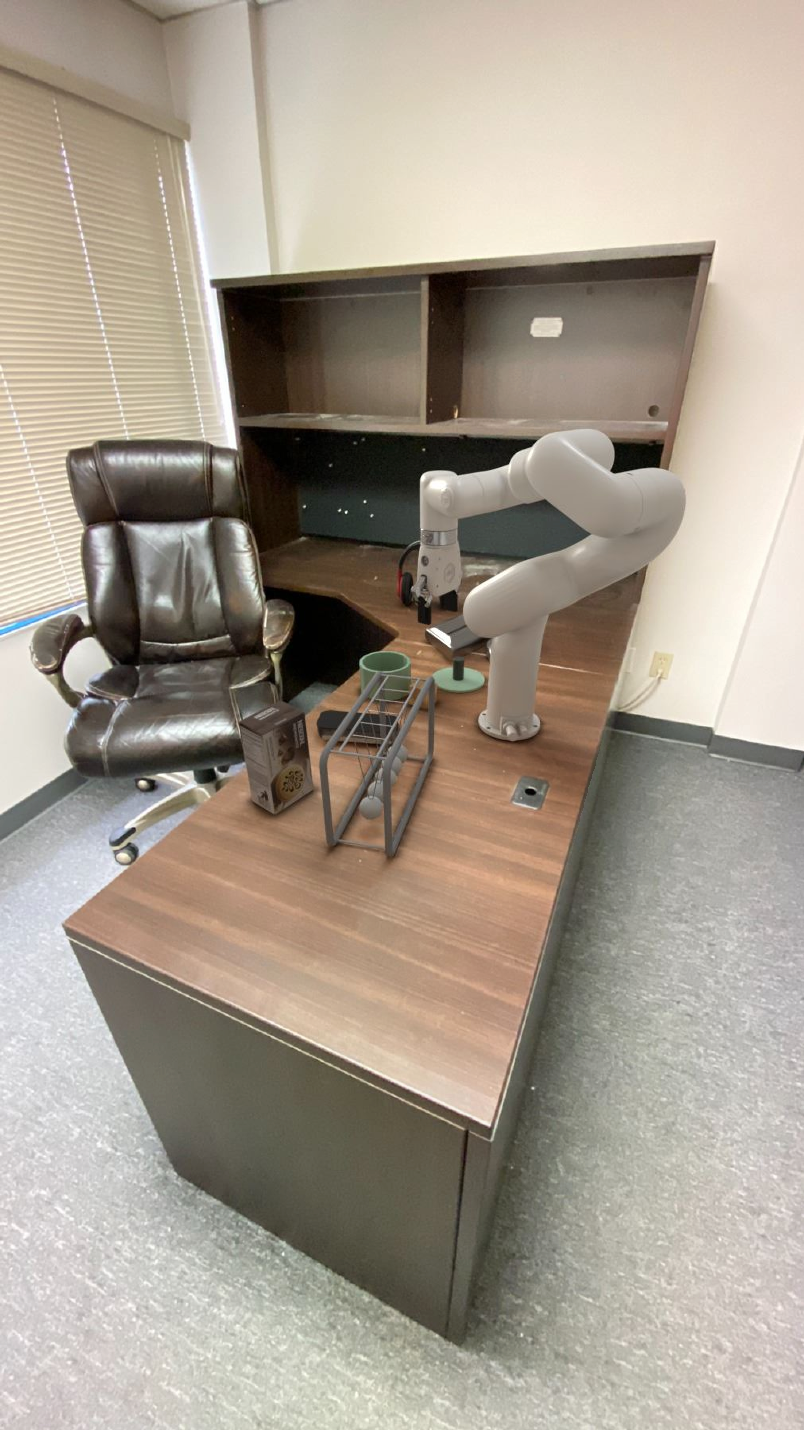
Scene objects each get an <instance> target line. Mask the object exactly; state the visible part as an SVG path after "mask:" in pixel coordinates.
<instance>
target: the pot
mask: <svg viewBox="0 0 804 1430" xmlns="http://www.w3.org/2000/svg"><path fill="white" fill-rule="evenodd" d="M377 671H382V672H383V674H386V675H395V676H404V677H412V662H411V658H410V656H408V655H407V654H406V653H405V654H404V653H402V652H399V651H391V650H379V651H374V652H370V653H368V654H365V655H363V656H362V657H361V658H360V659H359V679H360V681H359V683H360V695H361V694H362V692H363V691H364V689H365V688H366V687H367V685H368V684H369V682H370V681H371V679H372V678H373V676H374V675H375V673H376V672H377ZM384 678H386V677H384ZM411 684H412V680H411V679H402V678H393V677H389V678H388V679H387V681H386V682H385V689H389V690H385V700H388V701H387V702H391V701H398V700H400V699H403V698H405V697H407V696H409V686H410V685H411ZM378 689H379V680H378V682H377V683H376V685H375V686H374V688H373V689H372V691H371V692H370V694H369V695H368V697H367V698H366V700H368V699H370V700H372V698H373V697H374V695H375V694H376V692H377V691H378ZM393 690H398V691H393ZM402 691H407V692H402ZM375 699H379V693H378V695H377V697H376V698H375ZM377 702H379V700H377Z"/></svg>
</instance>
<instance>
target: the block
mask: <svg viewBox="0 0 804 1430" xmlns="http://www.w3.org/2000/svg"><path fill="white" fill-rule="evenodd" d="M416 682H417V680H415V681H414V682H413V683H411V685H410V686H409V694H410V692H411V691H412V689H413V687H414V685H415V684H416ZM425 682H426V681H421V680H420V681H419V683H418V685H417V687H416V688H415V690H414V692H413V694H412V696H411V698H410V700H409V703H408V705H412V706H413V705H414V703H415V701H416V699H417V697H418V695H419V693H420V691H421V689H422V687H423V685H424V683H425ZM409 694H408V695H409ZM428 702H429V690H428V692H427V694H426V696H425V698H424V700H423V702H422V704H421V706H420V708H421V709H424V710H427V709H428ZM436 702H438V688H437V683H435V703H436Z"/></svg>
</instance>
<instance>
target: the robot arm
mask: <svg viewBox="0 0 804 1430" xmlns="http://www.w3.org/2000/svg"><path fill="white" fill-rule="evenodd" d="M614 462H615V447H614V445H613V442H612V441H611V439H610V438H609V436H608V435H606V434H605V433H604V432H602V431H601V430H598V429H594V428H578V429H570V430H569V429H568V430H563V431H562V430H561V431H554V432H549V433H547V434H546V435H543V436H542V437H540V438H539V439H538V440H537V441H536V442H535V443H534V444H532V446H531V447H527V448H525V449H521V450H519V451H518V452H516V453H515V454H513V456H512V457H511V458H510V462H509V464H506V465H503V466H501V467H498V468H494V469H491V470H490V469H489V470H484V471H477V472H471V473H465V474H459V475H457V473H456V472H454V471H451V470H429V471H426V472H424V473H422V475H421V477H420V479H419V522H420V523H419V531H420V532H419V533H420V535H419V536H420V539H419V540H420V545H421V546H420V548H419V552H418V560H417V571H416V572H417V573H416V574H417V575H416V576H417V577H416V580H417V581H416V582H415V584H413V587H412V589H411V593H412V595H413V596H412V600H413V601H414V603H415V605H416V606H417V622H418V623H419V624H422V625H426V626H430V625H432V606H431V602H432V600H433V599H434V598H439V596H441V595H443V594H444V607H443V610H445V611H448V612H452V613H457V612H458V607H459V606H458V604H459V593H460V590H461V589H460V587H461V584H462V582H463V581H462V579H463V575H464V569H462V563H461V562H462V561H461V549H460V543H459V540H458V529H459V528H458V526H459V519H465V518H471V517H473V516H479V515H483V514H488V513H493V512H498V511H500V510H504V509H508V508H511V507H515V506H519V505H523V504H526V505H528V504H533V503H536V502H539V501H543V500H546V501H547V503H549V504H551V505H552V506H553V507H554V508H556V509H557V510H558V511H559V512H561V513H562V514H564V515H565V516H566V517H568V519H570V520H571V521H572V522H574V524H576V525H578V526H579V527H580V528H582V529H583V530H584V531H586V532H588V533H589V535H588V536H587V537H585V538H583V539H581V540H580V541H577V542H576V543H574V544H572V545H569V546H568V547H566V548H563V549H561V550H558V551H554V552H549V553H546V554H543V555H538V556H536V557H532V558H529V559H526V560H522V561H520V562H517V563H516V564H514V565H513V564H512V565H511V566H510V567H508V568H506V569H504V570H503V571H501V572H499V573H498V574H495V575H494V576H492V577H491V578H489V579H486V580H485V581H484V582H482V583H480V584H478V585H477V586H475V587H474V588H472V589H471V590H470V592H469V593H467V596H466V598H465V600H464V602H463V608H462V614H463V616H464V620H465V623H466V625H467V626H468V628H469V629H470V630H471V631H472V632H473V633H475V634H476V635H478V636H480V637H484V638H493V639H492V644H491V654H490V661H489V670H488V682H487V684H488V685H487V699H486V709H484V710H483V711H481V713H480V714H479V716H478V721H477V722H478V726H479V729H480V730H481V731H482V732H483V733H485V734H486V735H488V736H490V737H492V738H496V739H499V740H502V741H503V740H504V741H510V742H515V741H521V740H527V739H529V738H532V737H534V736H535V735H537V734H538V733H539V731H540V728H541V721H540V718H539V716H538V715H537V714H536V713H535V705H536V697H537V696H536V695H537V689H538V678H539V669H540V659H541V654H542V645H543V639H544V635H545V634H544V633H545V630H546V626H547V623H548V619H549V616H550V615H551V614H553V613H555V612H558V611H561V610H563V609H566V608H568V607H570V606H572V605H574V604H575V603H577V602H579V601H581V600H583V599H584V598H585V597H586V598H587V596H590V595H591V594H595V593H596V592H598V591H601V590H602V589H605V588H607V587H609V586H611V585H613V584H614V583H617V582H619V581H621V580H623V579H625V578H627V577H629V576H631V575H633V574H634V573H637V572H638V571H640V570H641V569H644V567H646V566H648V565H649V564H650V563H652V562H653V561H654V560H655V559H656V558H658V557H659V556H660V555H662V553H663V552H664V551H665V550H666V549H667V548H668V547H669V545H670V544H671V543H672V541H673V540H674V538H675V537H676V536H677V533H678V532H679V530H680V527H681V525H682V523H683V519H684V517H685V511H686V504H687V503H686V502H687V498H686V496H687V495H686V489H685V486H684V484H683V482H682V480H681V479H680V478H679V477H678V476H677V475H676V474H675V473H673V472H671V471H670V470H667V469H664V468H658V467H646V468H638V469H633V470H627V471H623V472H617V473H613V472H612V471H611V470H612V468H613V465H614ZM425 596H426V598H424V597H425ZM433 597H434V598H433Z"/></svg>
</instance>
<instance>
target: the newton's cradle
mask: <svg viewBox="0 0 804 1430" xmlns="http://www.w3.org/2000/svg"><path fill="white" fill-rule="evenodd" d="M384 677H386V678H384ZM389 677H393V678H402V679H411V681H412V680H413V681H415V682H416V681H417V682H416V684H415V685H414V687H413V689H412V691H411V692H410V694H408V695H407V696H408V697H407V698H406V700H405V702H404V701H399V703H401V704H403V706H402V708H401V709H400V711H399V712H398V713H395V712H390V713H389V710H388V705H387V702H389V701H388V700H385V690H389V689H385V682H386V681H387V679H388V678H389ZM378 680H379V689H378V691H377V692H376V694H375V695H374V697H373V698H372V699H370V701H369V703H368V704H367V706H366V707H365V709H364V711H363V712H362V713H363V714H362V715H361V717H360V718H359V720H358V721H357V723H356V725H355V726H354V728H353V729H352V731H351V732H350V734H349V735H348V737H347V738H346V740H345V741H343V743H342V744H341V746H340V748H339V749H338V750H334V748H335V746H336V745H337V744H338V743H339V741H338V740H339V739H340V737H341V736H342V734H343V733H344V731H345V730H346V728H347V727H348V725H349V724H350V722H351V721H352V719H353V718H354V716H355V715H356V713H357V712H358V713H359V711H360V709H361V707H362V706H363V705H364V703H365V702H366V701H367V699H366V698H367V697H368V695H369V694H370V692H371V691H372V689H373V688H374V686H375V685H376V683H377V682H378ZM420 680H421V681H426V682H425V683H424V685H423V687H422V689H421V691H420V693H419V695H418V697H417V699H416V701H415V703H414V705H412V707H411V708H410V710H409V713H408V714H407V712H408V708H409V700H410V698H411V696H412V694H413V692H414V690H415V688H416V687H417V685H418V683H419V681H420ZM428 690H429V702H428V708H427V709H428V713H427V717H428V718H427V723H428V724H427V752H426V753H427V754H426V757H420V756H414V755H413V756H412V755H409V752H408V750H407V748H406V747H405V746H404V745H403V743H404V740H405V738H406V737H407V735H408V733H409V731H410V729H411V727H412V726H413V725H412V724H413V723H414V720H415V718H416V716H417V715H418V712H419V711H420V708H421V707H420V706H421V704H422V702H423V700H424V698H425V696H426V694H427V692H428ZM393 691H398V690H393ZM402 692H407V691H402ZM378 693H379V699H375V698H376V697H377V695H378ZM378 700H379V701H378ZM374 701H375V704H376V708H377V710H373V712H375V713H377V714H379V717H380V724H375V725H380V736H381V738H376V736H375V732H374V728H373V724H372V720H371V716H370V714H371V712H372V710H371V709H370V707H371V706H372V704H373V703H374ZM378 702H379V703H378ZM390 702H393V703H397V700H392V701H390ZM435 707H436V702H435V680H434V677H432V675H428V677H426V678H422V677H414V676H411V677H404V676H395V675H386V674H383V672H382V671H377V672H376V673H375V675H374V676H373V678H372V679H371V681H370V682H369V684H368V685H367V687H366V688H365V689H364V691H363V692H362V694H361V693H360V695H359V696H358V698H357V700H356V701H355V702H354V704H353V705H352V706H351V708H350V709H349V711H348V712H349V713H348V714H347V715H346V717H345V718H344V720H343V721H342V723H341V724H340V726H339V727H338V729H337V730H336V731H335V733H334V734H333V736H332V737H331V739H330V740H328V741H327V743H326V744H325V746H324V747H323V749H322V750H321V753H320V757H319V761H318V762H319V763H318V770H319V779H320V791H321V800H322V801H321V802H322V810H323V820H324V829H325V832H324V833H325V840H326V844H327V845H328V846H330V847H335V846H336V845H337V844H338V843H343V844H349V845H353V846H360V847H366V848H370V849H371V848H372V849H378V850H383V851H384V852H385V855H386V856H387V857H389V858H391V857H393V856H394V855H395V854H396V852H397V849H398V846H399V844H400V841H401V839H402V836H403V834H404V832H405V829H406V827H407V824H408V821H409V819H410V816H411V814H412V811H413V809H414V807H415V804H416V802H417V799H418V796H419V794H420V792H421V789H422V787H423V784H424V781H425V779H426V776H427V774H428V771H429V769H430V766H431V765H432V764H431V763H432V761H433V757H434V752H435V713H436V712H435V709H436V708H435ZM404 711H405V713H404ZM366 713H369V716H370V720H371V723H368V724H372V728H373V732H374V736H375V740H376V739H381V744H377V740H376V748H377V753H376V755H371V754H370V753H371V752H370V749H369V746H368V743H367V741H366V736H365V734H364V730H363V726H362V723H364V722H361V720H362V718H363V717H364V715H365V714H366ZM403 713H404V714H405V715H403ZM386 715H388V717H389V715H396V716H397V719H396V720H395V722H394V724H393V726H391V722H390V718H389V722H390V726H391V730H390V731H389V733H388V735H387V737H386V726H388V725H386ZM403 716H404V718H403ZM402 719H403V723H402ZM397 722H398V723H399V730H398V735H397V738H396V739H394V736H395V731H396V726H397ZM359 723H361V726H362V730H363V734H364V736H361V737H364V738H365V741H366V743H365V745H366V750H367V752H368V753H367V754H362V753H359V751H358V748H357V742H355V739H354V736H359V735H354V736H353V735H352V734H353V732H354V731H355V729H356V728H357V726H358V725H359ZM401 724H402V727H401ZM394 728H395V731H394V735H393V729H394ZM391 733H392V735H393V741H394V742H393V741H392V743H391V746H390V747H389V745H390V744H389V740H390V735H391ZM351 736H353V739H354V742H353V743H354V746H355V751H356V753H355V752H349V751H343V750H344V748H345V747H346V745H347V743H348V740H349V739H350V737H351ZM369 738H374V737H369ZM388 739H389V740H388ZM387 741H388V744H387ZM379 745H380V746H379ZM330 754H337V755H345V756H351V757H357V758H358V763H359V767H360V769H361V770H360V771H361V775H362V779H363V780H362V781H361V784H360V786H359V787H358V789H357V790H356V792H355V794H354V796H353V798H352V799H351V802H350V804H349V805H348V807H347V809H346V811H345V812H344V814H343V816H342V819H341V820H340V822H339V823H338V826H337V828H336V829H335V831H334V826H333V816H332V804H331V794H330V793H331V792H330V784H329V771H328V761H329V760H328V759H329V757H330ZM360 758H366V759H369V762H370V767H369V769H368V770H367V772H366V774H365V775H364V771H363V767H362V764H361V759H360ZM372 759H373V761H372ZM408 759H414V760H419V761H424V763H423V765H422V767H421V770H420V772H419V774H418V777H417V779H416V781H415V785H414V786H413V788H412V791H411V794H410V796H409V798H408V801H407V803H406V806H405V808H404V811H403V813H402V815H401V818H400V821H399V823H398V826H397V828H396V830H395V832H394V835H393V819H392V818H393V815H392V814H393V813H392V789H393V788H394V787H395V785H396V783H397V776H399V775H400V774H401V773H402V770H403V764H404V763H405V762H407V760H408ZM376 770H377V771H376ZM373 776H374V781H373V782H372V783H370V782H371V780H372V778H373ZM369 783H370V784H369ZM365 792H366V795H367V796H366V797H364V798H363V799H362V797H363V795H364V793H365ZM361 799H362V800H361ZM360 800H361V801H360ZM359 802H360V804H359ZM358 805H359V806H358ZM357 806H358V807H359V809H358V810H359V814H360V815H361V816H362V817H363V818H364V819H366V820H369V821H375V820H377V819H378V818H380V817H381V815H382V814H383V831H384V832H383V835H384V846H380V845H374V844H368V843H362V842H357V841H350V840H345V839H341V837H342V835H343V833H344V831H345V829H346V827H347V826H348V823H349V822H350V819H351V818H352V816H353V814H354V812H355V810H356V808H357Z"/></svg>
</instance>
